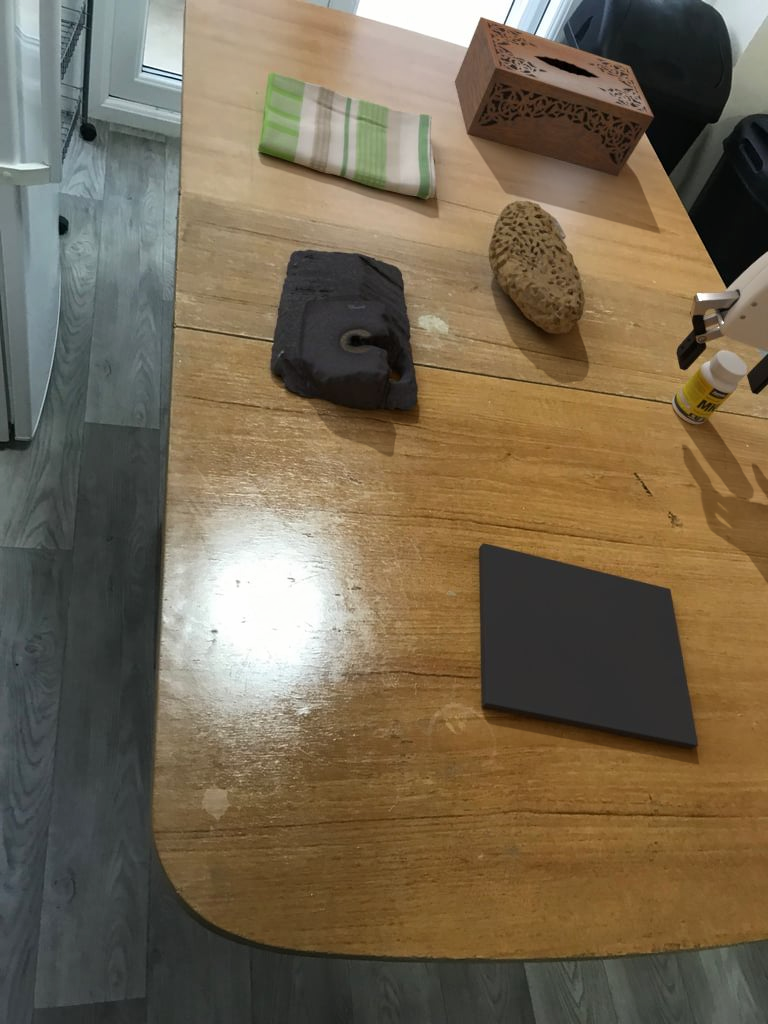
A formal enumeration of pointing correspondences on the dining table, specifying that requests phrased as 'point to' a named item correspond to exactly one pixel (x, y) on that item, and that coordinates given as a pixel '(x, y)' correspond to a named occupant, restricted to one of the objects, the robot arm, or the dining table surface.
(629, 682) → the mat
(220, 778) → the dining table surface
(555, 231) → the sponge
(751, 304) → the robot arm
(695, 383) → the supplement bottle
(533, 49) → the tissue box cover
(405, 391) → the dark slate chunk
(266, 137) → the dish towel
